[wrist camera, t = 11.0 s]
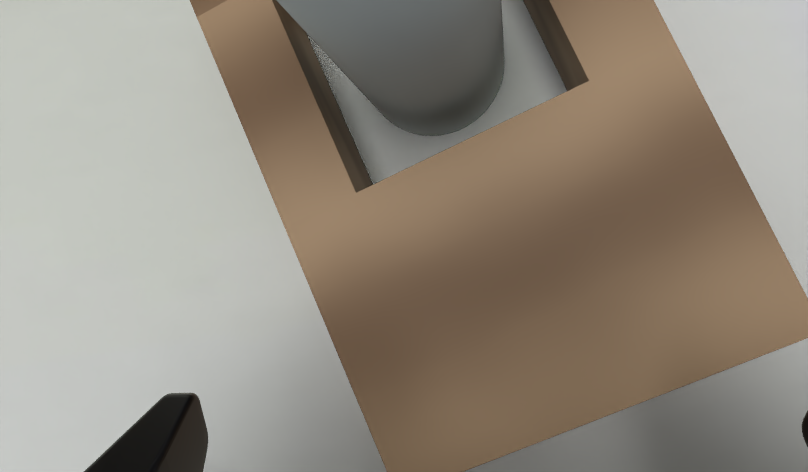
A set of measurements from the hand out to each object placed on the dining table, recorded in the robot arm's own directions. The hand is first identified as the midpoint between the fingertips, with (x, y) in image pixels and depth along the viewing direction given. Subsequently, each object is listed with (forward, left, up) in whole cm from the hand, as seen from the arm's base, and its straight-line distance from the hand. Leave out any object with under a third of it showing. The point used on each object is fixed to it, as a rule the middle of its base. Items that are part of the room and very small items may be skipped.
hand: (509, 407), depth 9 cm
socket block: (+6, -1, -9) cm, 11 cm away
